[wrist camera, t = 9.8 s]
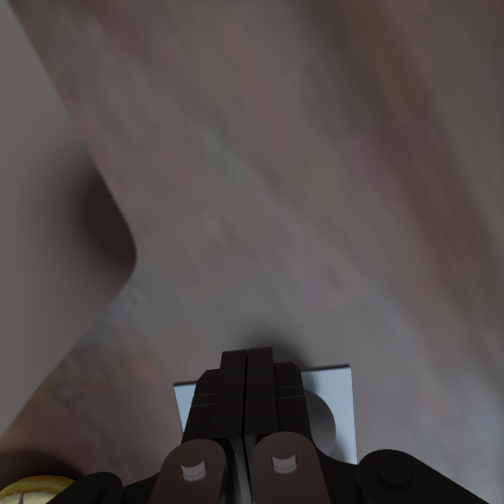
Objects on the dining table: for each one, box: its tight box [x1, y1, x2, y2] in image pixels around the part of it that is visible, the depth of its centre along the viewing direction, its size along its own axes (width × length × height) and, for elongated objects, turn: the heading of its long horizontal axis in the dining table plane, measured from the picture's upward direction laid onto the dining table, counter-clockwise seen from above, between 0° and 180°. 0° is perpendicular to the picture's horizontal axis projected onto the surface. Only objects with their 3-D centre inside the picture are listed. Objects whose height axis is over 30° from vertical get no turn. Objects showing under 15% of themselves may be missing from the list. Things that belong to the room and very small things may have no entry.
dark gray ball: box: [304, 389, 336, 456], centre depth 29 cm, size 6×6×6 cm
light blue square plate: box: [174, 367, 357, 504], centre depth 33 cm, size 14×14×1 cm
